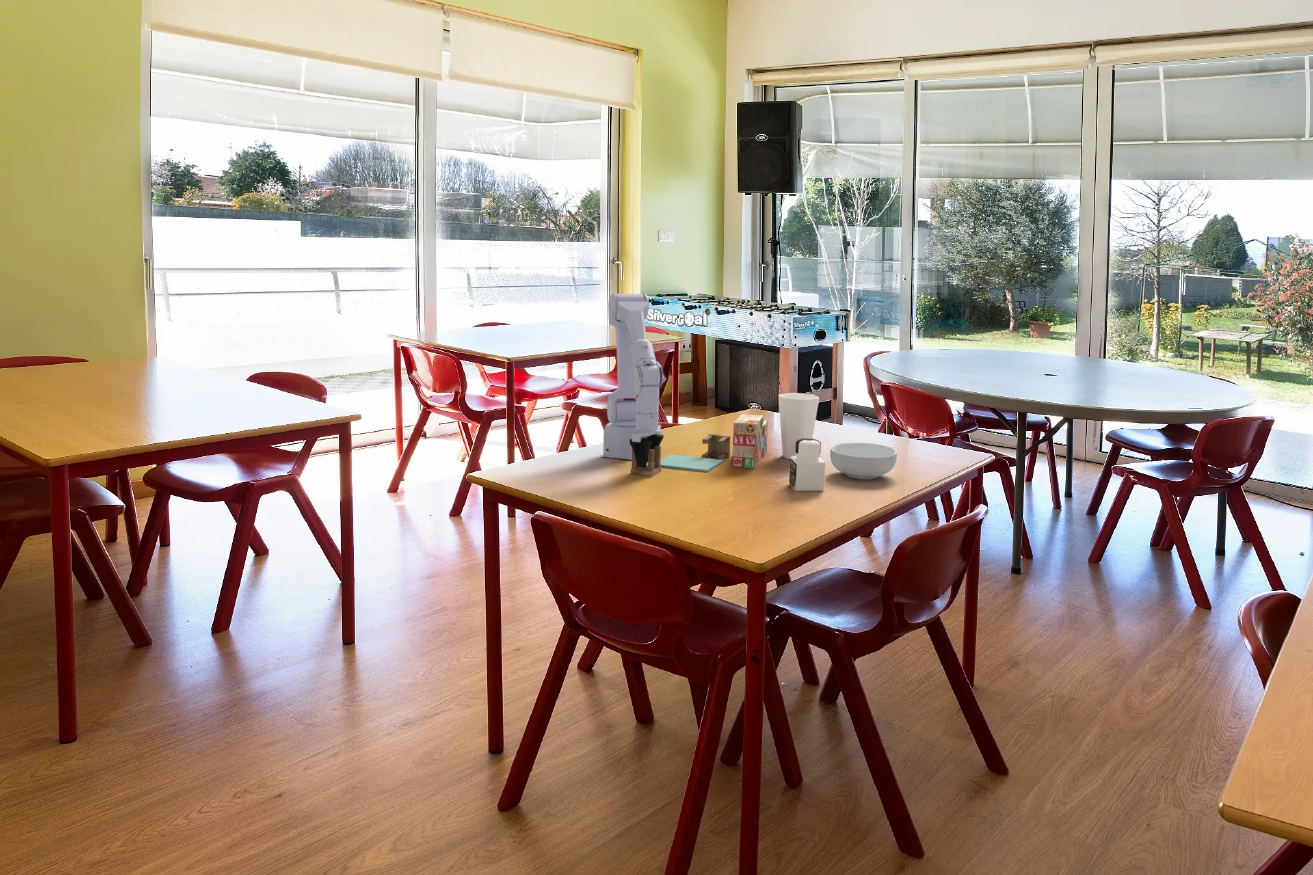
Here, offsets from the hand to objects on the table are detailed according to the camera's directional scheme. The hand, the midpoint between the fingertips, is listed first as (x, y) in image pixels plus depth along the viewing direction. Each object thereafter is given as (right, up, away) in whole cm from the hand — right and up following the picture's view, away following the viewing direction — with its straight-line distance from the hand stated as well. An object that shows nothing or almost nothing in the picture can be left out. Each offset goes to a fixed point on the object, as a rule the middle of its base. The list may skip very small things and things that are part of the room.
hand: (646, 464), depth 269 cm
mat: (+11, 0, +11) cm, 16 cm away
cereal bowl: (+55, -3, +2) cm, 56 cm away
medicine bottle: (+39, -6, -12) cm, 41 cm away
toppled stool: (+18, +3, +15) cm, 24 cm away
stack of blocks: (+28, +1, +18) cm, 34 cm away
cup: (+41, +1, +23) cm, 47 cm away
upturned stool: (0, -2, 0) cm, 2 cm away
